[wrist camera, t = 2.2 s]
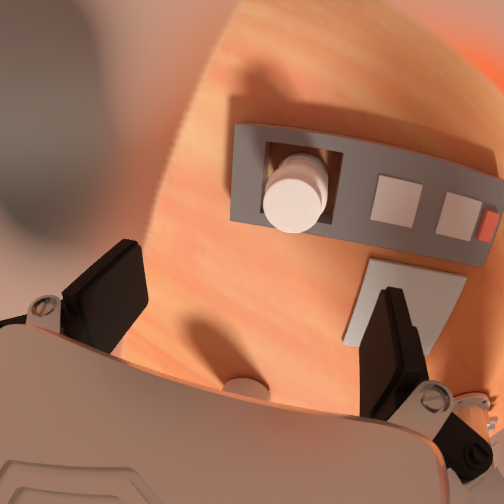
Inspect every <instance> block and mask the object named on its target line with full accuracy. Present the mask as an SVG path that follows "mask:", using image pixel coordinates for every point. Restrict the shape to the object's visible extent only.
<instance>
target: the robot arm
mask: <svg viewBox="0 0 504 504" xmlns="http://www.w3.org/2000/svg"><path fill="white" fill-rule="evenodd" d="M62 295H63V299H62V300H61V301H60V299H59V298H58V297H57V296H54V295H45V296H41V297H39V298H37V299H36V300H34V301H33V302H32V303H31V305H30V306H29V308H28V313H27V314H26V315H22V316H18V317H14V318H10V319H6V320H2V321H0V504H504V478H503V476H502V474H501V473H500V471H499V470H498V468H497V467H496V468H494V461H493V452H492V449H491V444H490V438H489V433H488V432H493V431H494V429H495V423H497V421H498V417H497V416H494V417H489V415H488V410H489V408H490V401H489V398H488V396H487V395H486V394H484V393H479V392H473V393H467V394H463V395H460V396H457V397H454V398H453V395H452V393H451V391H450V390H449V389H448V388H447V387H446V386H445V385H444V384H442V383H440V382H438V381H434V380H429V376H428V371H427V367H426V362H425V358H424V353H423V349H422V345H421V341H420V337H419V333H418V329H417V327H415V326H412V322H411V318H410V314H409V310H408V307H407V303H406V300H405V296H404V293H403V290H402V289H401V288H396V287H390V286H387V287H386V289H385V290H384V289H382V290H381V291H380V293H379V296H378V299H377V301H376V304H375V307H374V310H373V312H372V315H371V317H370V320H369V323H368V325H367V328H366V330H365V333H364V335H363V337H362V340H361V343H360V347H359V363H360V417H359V416H353V415H346V414H338V413H332V412H325V411H319V410H313V409H307V408H301V407H295V406H290V405H284V404H279V403H274V402H269V401H264V400H260V399H255V398H251V397H246V396H242V395H238V394H234V393H230V392H226V391H222V390H218V389H214V388H210V387H207V386H203V385H200V384H196V383H193V382H189V381H186V380H183V379H179V378H176V377H173V376H170V375H166V374H163V373H160V372H157V371H154V370H151V369H149V368H146V367H143V366H140V365H137V364H134V363H131V362H129V361H126V360H123V359H121V358H118V357H115V356H113V355H110V353H111V352H112V351H113V349H114V348H115V347H116V345H117V344H118V343H119V341H120V340H121V339H122V337H123V336H124V335H125V334H126V332H127V331H128V330H129V328H130V327H131V326H132V324H133V323H134V322H135V320H136V319H137V318H138V317H139V315H140V314H141V313H142V311H143V310H144V309H145V308H146V306H147V304H148V292H147V285H146V279H145V272H144V264H143V257H142V249H141V246H140V245H138V242H137V241H134V240H129V239H123V240H121V241H120V242H119V243H118V244H116V245H115V246H114V247H113V248H112V249H110V250H109V251H108V252H107V253H105V254H104V255H103V256H102V257H101V258H100V259H98V260H97V261H96V262H95V263H94V264H93V265H92V266H90V267H89V268H88V269H87V270H86V271H85V272H84V273H82V274H81V275H80V276H79V277H78V278H77V279H76V280H75V281H74V282H72V283H71V284H70V285H69V286H68V287H67V288H66V289H65V290H64V291H63V292H62Z"/></svg>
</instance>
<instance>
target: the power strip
mask: <svg viewBox="0 0 504 504" xmlns="http://www.w3.org/2000/svg"><path fill="white" fill-rule="evenodd" d="M271 142H276V143H284V144H292V145H299V146H306V147H312V148H319V149H325V150H331V151H337V152H342V155H341V162H340V168H339V174H338V181H337V187H336V193H335V198H334V204H333V210H332V215H330V214H324V213H322V214H321V215H320V216H319V218H318V220H317V222H316V223H315V224H314V225H313V226H312V227H311V228H309V229H308V230H306V231H303V232H301V233H306V234H312V235H318V236H323V237H329V238H334V239H340V240H345V241H351V242H356V243H362V244H367V245H372V246H377V247H383V248H388V249H393V250H398V251H403V252H408V253H413V254H418V255H423V256H428V257H433V258H438V259H442V260H447V261H452V262H457V263H461V264H466V265H471V266H475V267H480V268H483V266H484V263H485V261H486V259H487V256H488V253H489V251H490V248H491V246H492V243H493V240H494V237H495V235H496V232H497V229H498V226H499V223H500V220H501V217H502V214H503V210H504V180H503V179H501V178H499V177H497V176H494V175H492V174H489V173H486V172H483V171H480V170H478V169H475V168H472V167H469V166H466V165H463V164H460V163H456V162H453V161H450V160H447V159H443V158H440V157H437V156H433V155H430V154H426V153H422V152H419V151H415V150H411V149H407V148H403V147H399V146H395V145H390V144H386V143H382V142H377V141H372V140H368V139H363V138H358V137H352V136H347V135H342V134H336V133H330V132H324V131H317V130H311V129H304V128H296V127H288V126H280V125H271V124H261V123H250V122H240V123H237V124H235V127H234V145H233V163H232V183H231V204H230V221H234V222H241V223H247V224H253V225H259V226H265V227H271V228H276V227H274V226H273V225H272V224H271V223H270V222H269V220H268V219H267V217H266V215H265V213H264V209H263V199H264V195H265V187H266V184H267V178H268V166H269V155H270V144H271Z"/></svg>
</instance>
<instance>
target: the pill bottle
mask: <svg viewBox="0 0 504 504" xmlns="http://www.w3.org/2000/svg"><path fill="white" fill-rule="evenodd" d="M327 194H328V172H327V169H326V167H325V165H324V164H323V162H322V161H321V160H320V159H319V158H318V157H316V156H314V155H312V154H309V153H305V152H298V153H293V154H291V155H289V156H287V157H286V158H285V159H284V160H283V161H282V162H281V163H280V165H279V166H278V167H277V169H276V170H275V171H274V172H273V174H272V175H271V176H270V178H269V179H268V181H267V184H266V187H265V195H264V199H263V209H264V213H265V215H266V217H267V219H268V220H269V222H270V223H271V224H272V225H273V226H274V227H276V228H277V229H279V230H281V231H284V232H288V233H300V232H303V231H306V230H308V229H309V228H311V227H312V226H313V225H314V224H315V223H316V222H317V220H318V218H319V216H320V215H321V214H322V212H323V211H324V209H325V206H326V203H327Z"/></svg>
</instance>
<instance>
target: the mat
mask: <svg viewBox="0 0 504 504" xmlns="http://www.w3.org/2000/svg"><path fill="white" fill-rule="evenodd" d="M467 279H468V278H467V277H466V276H464V275H459V274H454V273H449V272H444V271H439V270H433V269H428V268H423V267H418V266H413V265H407V264H402V263H397V262H392V261H386V260H381V259H376V258H370V259H369V262H368V266H367V269H366V272H365V276H364V279H363V282H362V286H361V289H360V292H359V295H358V298H357V301H356V304H355V308H354V311H353V313H352V316H351V319H350V322H349V325H348V328H347V331H346V334H345V336H344V339H343V345H349V346H356V347H360V343H361V340H362V337H363V335H364V333H365V330H366V328H367V325H368V323H369V320H370V317H371V315H372V312H373V310H374V307H375V304H376V301H377V299H378V296H379V293H380V291H381V290H382V289H384V290H385V289H386V287H387V286H390V287H396V288H401V289H402V290H403V293H404V296H405V300H406V303H407V307H408V310H409V314H410V318H411V322H412V326H415V327H417V329H418V333H419V337H420V341H421V345H422V349H423V353H424V355H429V353H430V351H431V349H432V348H433V346H434V344H435V343H436V341H437V339H438V337H439V335H440V334H441V332H442V330H443V328H444V326H445V324H446V322H447V320H448V319H449V317H450V315H451V313H452V311H453V309H454V307H455V305H456V303H457V300H458V298H459V296H460V294H461V292H462V290H463V288H464V285H465V283H466V281H467Z"/></svg>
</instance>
